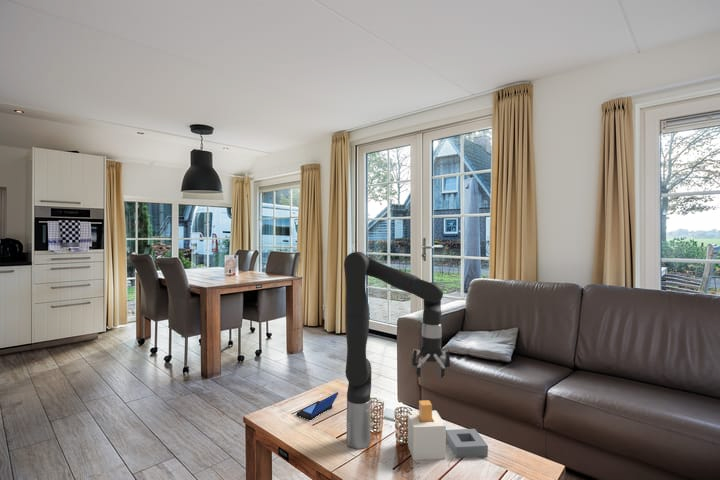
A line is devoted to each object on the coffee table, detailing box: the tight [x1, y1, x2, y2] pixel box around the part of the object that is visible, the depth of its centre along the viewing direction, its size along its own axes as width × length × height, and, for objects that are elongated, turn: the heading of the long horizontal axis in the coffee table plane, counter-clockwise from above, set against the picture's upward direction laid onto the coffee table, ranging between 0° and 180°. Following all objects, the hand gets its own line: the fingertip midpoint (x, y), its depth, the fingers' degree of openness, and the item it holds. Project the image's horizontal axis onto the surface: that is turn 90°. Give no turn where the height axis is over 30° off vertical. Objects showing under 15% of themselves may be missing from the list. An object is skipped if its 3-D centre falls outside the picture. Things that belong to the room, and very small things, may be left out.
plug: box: [418, 399, 433, 422], centre depth 138 cm, size 4×4×9 cm
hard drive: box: [383, 406, 395, 422], centre depth 167 cm, size 2×8×12 cm
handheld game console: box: [296, 391, 339, 421], centre depth 168 cm, size 16×13×9 cm
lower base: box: [446, 428, 489, 459], centre depth 140 cm, size 12×12×4 cm
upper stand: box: [406, 409, 447, 461], centre depth 139 cm, size 12×12×12 cm
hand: (430, 376), depth 140 cm, fingers open, 8 cm apart
